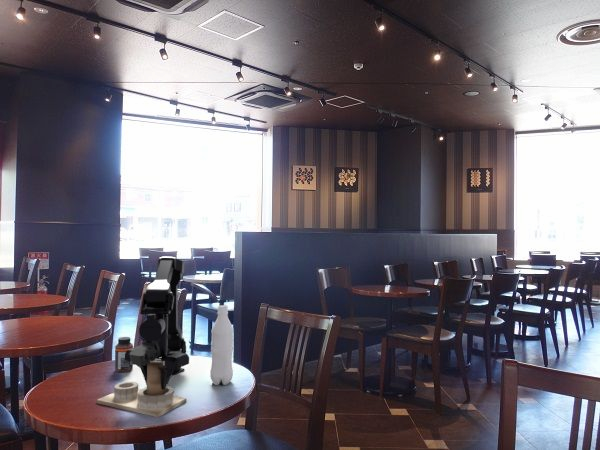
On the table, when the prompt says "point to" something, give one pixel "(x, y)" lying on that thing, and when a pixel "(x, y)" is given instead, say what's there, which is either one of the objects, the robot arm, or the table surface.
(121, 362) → the supplement bottle
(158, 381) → the walnut peg
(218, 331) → the water bottle
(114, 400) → the two-ring peg board
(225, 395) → the table surface
